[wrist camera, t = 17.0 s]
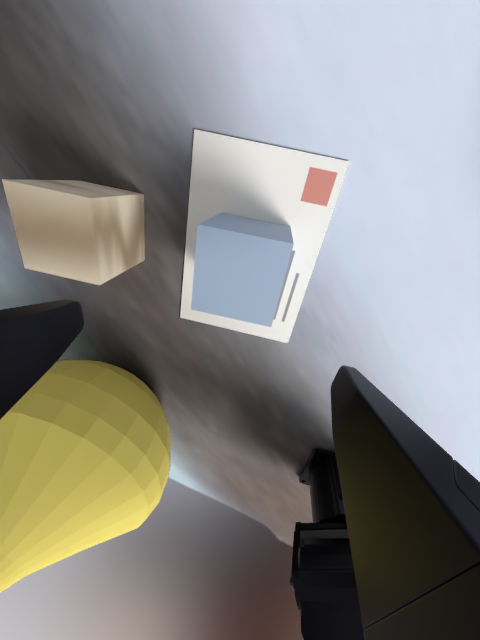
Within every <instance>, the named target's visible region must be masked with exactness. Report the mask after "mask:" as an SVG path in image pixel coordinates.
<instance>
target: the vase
mask: <svg viewBox="0 0 480 640" xmlns="http://www.w3.org/2000/svg"><path fill="white" fill-rule="evenodd" d="M169 470H170V431H169V426H168V422H167V419H166V416H165V413H164V410H163V408H162V406H161V404H160V402H159V400H158V398H157V397H156V395H155V394H154V393H153V392H152V391H151V390H150V388H149V387H148V386H147V385H146V384H145V383H144V382H143V381H141V380H140V379H139V378H137V377H136V376H135V375H133V374H132V373H130V372H128V371H126V370H124V369H122V368H120V367H117V366H114V365H111V364H108V363H104V362H101V361H91V360H63V361H56V363H55V364H54V365H53V366H52V367H51V368H50V369H49V370H48V371H47V372H46V373H45V374H44V375H43V376H42V377H41V378H40V379H39V380H38V381H37V383H36V384H35V385H34V386H33V387H32V388H31V389H30V390H29V391H28V392H27V393H26V394H25V395H24V396H23V397H22V398H21V399H20V400H19V401H18V402H17V403H16V404H15V405H14V406H13V407H12V408H11V409H10V410H9V411H8V412H7V413H6V414H5V415H4V416H3V417H2V418H1V419H0V593H1V592H2V591H4V590H5V589H7V588H8V587H10V586H11V585H13V584H14V583H16V582H17V581H19V580H20V579H22V578H23V577H25V576H27V575H29V574H31V573H33V572H35V571H38V570H40V569H42V568H44V567H47V566H49V565H51V564H53V563H56V562H57V561H60V560H62V559H64V558H67V557H69V556H71V555H73V554H76V553H78V552H80V551H82V550H84V549H86V548H89V547H92V546H94V545H97V544H99V543H101V542H104V541H107V540H109V539H112V538H114V537H116V536H119V535H121V534H124V533H126V532H129V531H131V530H133V529H136V528H138V527H139V526H140V525H141V524H142V523H143V522H144V521H145V520H146V519H147V517H148V516H149V515H150V513H151V512H152V511H153V510H154V508H155V507H156V506H157V504H158V503H159V501H160V498H161V495H162V493H163V490H164V487H165V485H166V482H167V479H168V474H169Z"/></svg>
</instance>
